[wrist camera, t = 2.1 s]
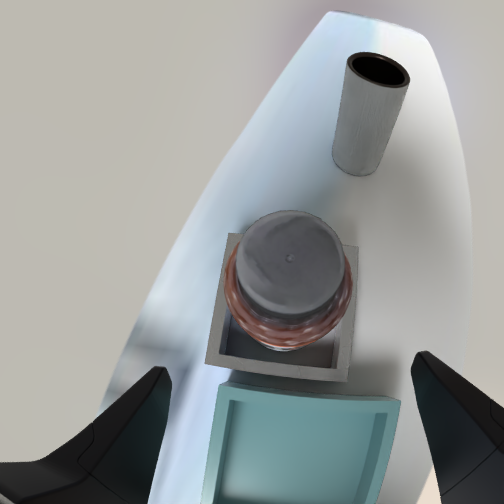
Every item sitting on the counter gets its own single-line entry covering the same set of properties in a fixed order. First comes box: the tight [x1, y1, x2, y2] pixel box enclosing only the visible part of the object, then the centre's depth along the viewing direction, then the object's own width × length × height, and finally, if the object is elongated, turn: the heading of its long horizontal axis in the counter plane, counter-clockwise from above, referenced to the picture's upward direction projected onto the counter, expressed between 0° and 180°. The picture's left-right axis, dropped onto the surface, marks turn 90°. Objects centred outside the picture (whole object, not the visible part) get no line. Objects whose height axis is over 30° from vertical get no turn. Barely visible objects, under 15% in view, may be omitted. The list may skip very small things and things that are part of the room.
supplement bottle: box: [223, 210, 353, 351], centre depth 16 cm, size 6×6×11 cm
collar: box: [205, 233, 358, 382], centre depth 20 cm, size 9×9×2 cm
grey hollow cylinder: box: [332, 52, 410, 176], centre depth 20 cm, size 4×4×10 cm
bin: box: [200, 381, 401, 504], centre depth 15 cm, size 12×12×3 cm
